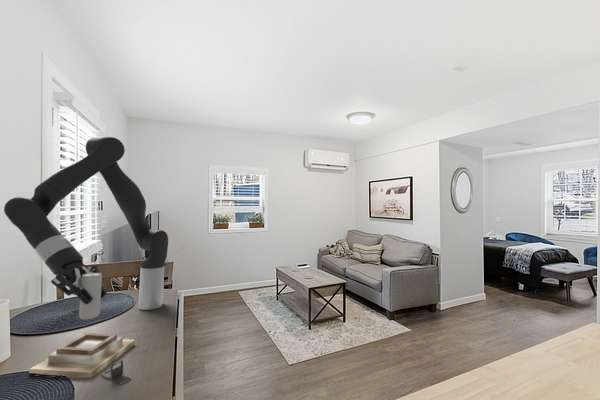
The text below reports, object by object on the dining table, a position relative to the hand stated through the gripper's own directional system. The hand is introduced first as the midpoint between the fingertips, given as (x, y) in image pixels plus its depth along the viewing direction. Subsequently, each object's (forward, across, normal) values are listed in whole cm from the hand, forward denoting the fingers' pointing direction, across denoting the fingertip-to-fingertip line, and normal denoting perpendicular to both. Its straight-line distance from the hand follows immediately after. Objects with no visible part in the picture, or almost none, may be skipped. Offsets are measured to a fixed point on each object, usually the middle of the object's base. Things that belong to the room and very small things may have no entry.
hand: (97, 298), depth 81 cm
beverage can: (+2, 0, +5) cm, 6 cm away
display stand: (+11, 0, +13) cm, 17 cm away
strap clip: (+21, -8, +3) cm, 23 cm away
